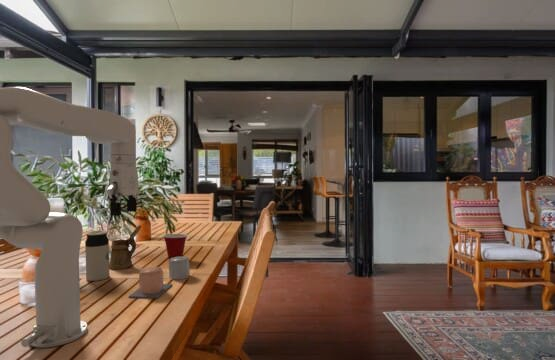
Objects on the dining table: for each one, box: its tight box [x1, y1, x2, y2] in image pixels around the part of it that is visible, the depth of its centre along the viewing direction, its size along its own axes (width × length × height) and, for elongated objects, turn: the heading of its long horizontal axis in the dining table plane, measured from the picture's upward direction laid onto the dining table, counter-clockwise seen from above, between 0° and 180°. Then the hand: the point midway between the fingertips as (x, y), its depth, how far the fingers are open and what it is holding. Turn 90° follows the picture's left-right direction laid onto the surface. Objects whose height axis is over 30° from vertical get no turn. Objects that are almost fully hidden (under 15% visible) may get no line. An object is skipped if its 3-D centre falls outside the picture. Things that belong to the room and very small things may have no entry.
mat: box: [128, 283, 173, 299], centre depth 116 cm, size 12×10×1 cm
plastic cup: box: [162, 233, 188, 262], centre depth 154 cm, size 11×11×12 cm
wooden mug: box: [109, 225, 141, 271], centre depth 145 cm, size 9×14×18 cm, turn 92°
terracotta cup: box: [138, 266, 164, 294], centre depth 116 cm, size 7×7×7 cm
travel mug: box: [84, 229, 110, 282], centre depth 130 cm, size 8×8×18 cm
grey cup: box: [168, 255, 191, 280], centre depth 132 cm, size 7×7×7 cm
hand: (124, 213), depth 109 cm, fingers open, 9 cm apart
